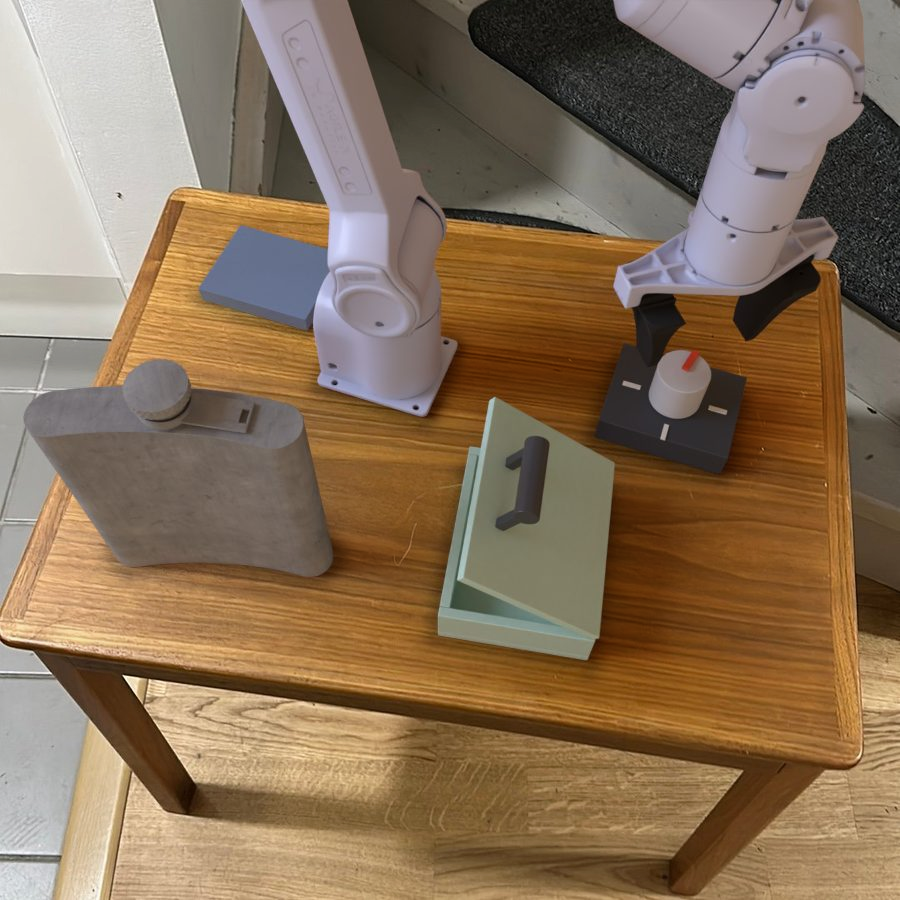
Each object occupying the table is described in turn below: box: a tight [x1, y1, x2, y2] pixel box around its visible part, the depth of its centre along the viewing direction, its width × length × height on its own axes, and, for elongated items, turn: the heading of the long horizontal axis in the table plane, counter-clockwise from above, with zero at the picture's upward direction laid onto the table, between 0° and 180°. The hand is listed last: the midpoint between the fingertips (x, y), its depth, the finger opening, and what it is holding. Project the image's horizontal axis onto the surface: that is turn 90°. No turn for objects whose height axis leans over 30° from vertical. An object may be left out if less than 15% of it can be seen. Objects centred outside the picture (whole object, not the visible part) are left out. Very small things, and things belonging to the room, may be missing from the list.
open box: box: [437, 445, 596, 661], centre depth 65 cm, size 10×13×4 cm
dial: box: [649, 349, 711, 419], centre depth 70 cm, size 4×4×4 cm
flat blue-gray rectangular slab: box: [198, 224, 330, 331], centre depth 80 cm, size 10×8×2 cm
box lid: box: [457, 396, 616, 641], centre depth 60 cm, size 11×13×4 cm
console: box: [593, 342, 747, 475], centre depth 73 cm, size 10×8×3 cm
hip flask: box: [22, 358, 335, 578], centre depth 59 cm, size 16×4×20 cm, turn 87°
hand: (695, 342), depth 66 cm, fingers open, 7 cm apart
